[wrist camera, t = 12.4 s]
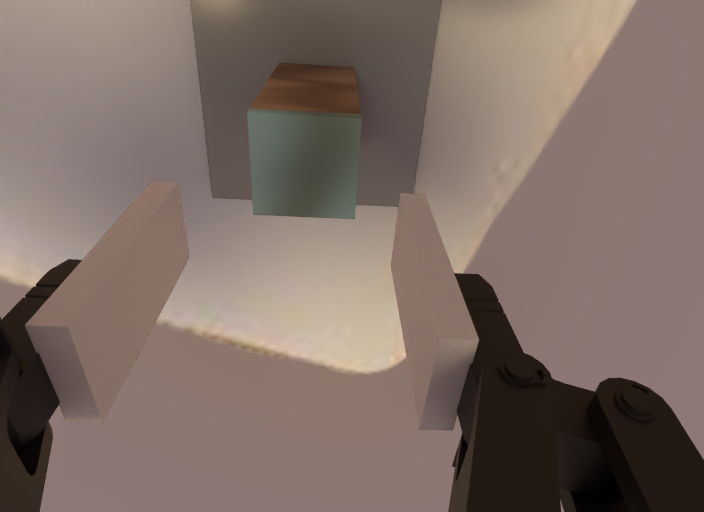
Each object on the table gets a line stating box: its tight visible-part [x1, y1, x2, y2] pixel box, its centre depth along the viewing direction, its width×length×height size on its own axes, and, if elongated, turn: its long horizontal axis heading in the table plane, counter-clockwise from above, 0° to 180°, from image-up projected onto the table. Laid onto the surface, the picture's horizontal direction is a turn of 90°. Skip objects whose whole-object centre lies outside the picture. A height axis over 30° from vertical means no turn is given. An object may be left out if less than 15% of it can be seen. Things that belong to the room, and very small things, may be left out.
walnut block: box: [247, 63, 362, 219], centre depth 24 cm, size 4×4×11 cm
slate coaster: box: [190, 0, 441, 207], centre depth 28 cm, size 14×14×1 cm
